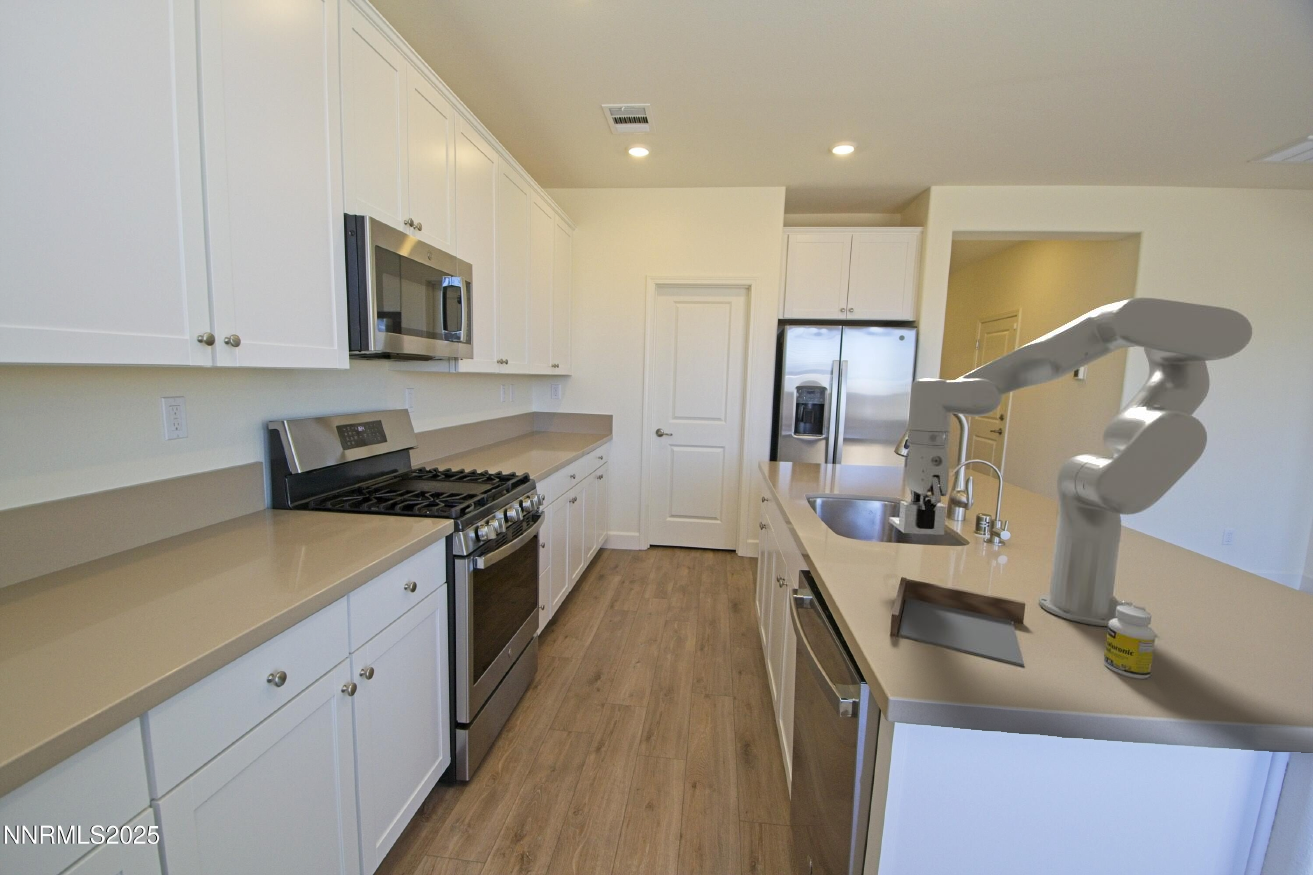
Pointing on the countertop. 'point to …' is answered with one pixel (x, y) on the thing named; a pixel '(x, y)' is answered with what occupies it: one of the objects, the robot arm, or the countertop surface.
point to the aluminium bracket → (909, 519)
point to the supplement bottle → (1130, 643)
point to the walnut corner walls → (955, 601)
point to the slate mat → (961, 631)
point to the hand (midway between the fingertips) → (921, 525)
